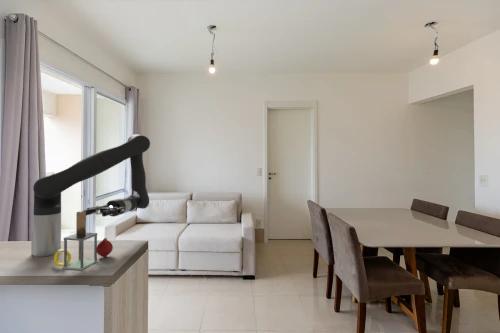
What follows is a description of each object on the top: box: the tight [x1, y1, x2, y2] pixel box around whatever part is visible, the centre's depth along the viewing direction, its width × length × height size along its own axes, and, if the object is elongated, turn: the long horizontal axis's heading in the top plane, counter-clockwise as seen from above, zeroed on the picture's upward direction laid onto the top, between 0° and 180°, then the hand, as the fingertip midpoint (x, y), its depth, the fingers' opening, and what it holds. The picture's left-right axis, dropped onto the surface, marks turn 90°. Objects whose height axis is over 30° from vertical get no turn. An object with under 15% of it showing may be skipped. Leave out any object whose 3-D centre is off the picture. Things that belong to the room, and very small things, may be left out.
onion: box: [97, 237, 114, 258], centre depth 103 cm, size 6×6×8 cm
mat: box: [61, 258, 99, 271], centre depth 95 cm, size 8×8×1 cm
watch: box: [53, 247, 72, 266], centre depth 95 cm, size 6×3×6 cm, turn 85°
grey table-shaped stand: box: [63, 210, 98, 268], centre depth 95 cm, size 8×8×20 cm
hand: (93, 213), depth 101 cm, fingers open, 8 cm apart
